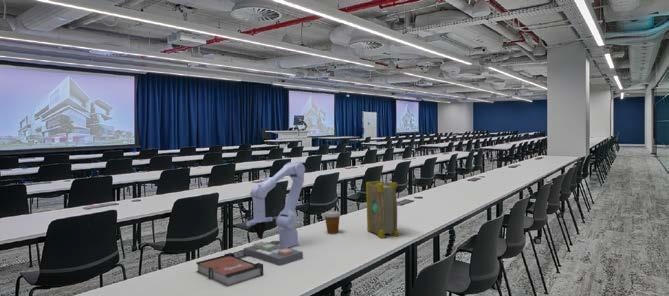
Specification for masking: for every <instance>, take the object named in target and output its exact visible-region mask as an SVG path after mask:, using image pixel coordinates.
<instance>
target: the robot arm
mask: <svg viewBox="0 0 669 296" xmlns="http://www.w3.org/2000/svg"><path fill="white" fill-rule="evenodd" d="M305 172H306V167H305V165H304V164H303V163H301V162H291V161H290V162H287V163H286V164H284V165H283V167H282V168H281V169H279V171H277V172H276V173H275V174H274V175H273V176H272V177H270V176H269V177H266V178H264V180H263V181H261V183H258V185H257V186H253V187H252V189H251V191H250V192H249V194H250V197H251V198H252V208H253V210H252V211H253V219H251V220H248V221H246V222H245V224H246V226H247V227H251V226H253V228H254V230H255V233H256V235H257V238H258V239H263V237H264V232H265V230H266V228H267V225H268V222H273V217H272V216H267V217H266V204H265V203H266V201H265V199H266V197H267V194H268V193H269V192H270V191H272V189H274V188H275V187H276V186H277V183H278V182H280V180H282V179H284V178H285V177H286V176H288V177H290V178H291V181H292V182H291V185H290V190H289V192H288V197H287V200H286V202H285V205H284V208H283V210H281V211H280V212H279V214H278V216H277V217H276V219H275V225H276V227H277V229H278V235H279V236H278V237H279V239H278V240H279V241H278V242H279V243H278V244H277V245H279V246H283V247H287V248H291V247H295V246H299V245H300V244H299V239H298V238H299V236H298V235H299V234H298V233H299V232H298V230H297V229H298V228H296V227H295V226H296V218H297V215H296V213H295V210H296V207H297V204H298V201H299V198H300V194H301V191H302V188H303V185H304V181H305Z"/></svg>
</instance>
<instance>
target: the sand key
mask: <svg viewBox="0 0 669 296" xmlns="http://www.w3.org/2000/svg"><path fill="white" fill-rule="evenodd" d="M263 245H267V243H265V242H264V241H259V242H255V243H253V246H254V247H255V248H259V249H260V248H261V246H263Z"/></svg>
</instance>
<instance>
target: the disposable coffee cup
mask: <svg viewBox="0 0 669 296" xmlns="http://www.w3.org/2000/svg"><path fill="white" fill-rule="evenodd" d="M340 216H341V213H340V211H336V210H330V211H325V212H324V218H325V224H326V232H327V234H328V235H336V234H339V227H340Z"/></svg>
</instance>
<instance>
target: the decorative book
mask: <svg viewBox="0 0 669 296" xmlns="http://www.w3.org/2000/svg"><path fill="white" fill-rule="evenodd" d="M386 182H387V181H386ZM365 188H366V189H365V190H366V191H365V193H366V196H365V197H366V228H367V232H368V233H374V234H375V235H376V236H377V237H378V238H379V239H385V234H391V236H393V237H396V238H397V237H399V236H400V235H399V233H400V232H399V231H398V200H397V193H396V190H397V188H398V182H395V181H393V182H392V181H388V182H387V183H385V182H383V181H382V180H380V181H379V180H378V181H366V182H365Z"/></svg>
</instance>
